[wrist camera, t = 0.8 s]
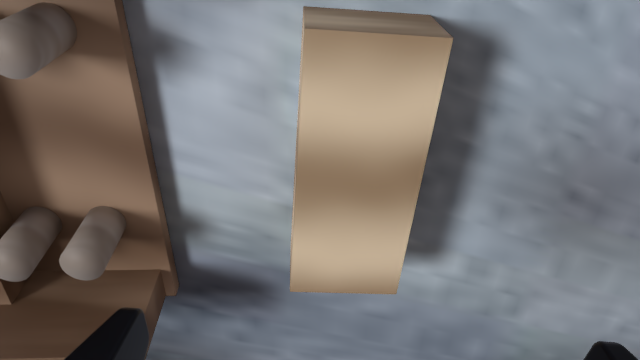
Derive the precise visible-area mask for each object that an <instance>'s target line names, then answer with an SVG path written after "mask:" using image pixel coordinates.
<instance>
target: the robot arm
mask: <svg viewBox="0 0 640 360" xmlns="http://www.w3.org/2000/svg"><path fill="white" fill-rule="evenodd" d="M148 344H149V331H148V327H147V323H146V319H145V316H144V312H143V310H141V309H140V308H128V307H123V308H120V309H118V310H117V311H116V312H115V313H114V314H113V315H112V316H111V317H109V318H108V319H107V320H106V321H105V322H104V323H103V324H102V325H101V326H100V327H99V328H98V329H96V330H95V331H94V332H93V333H92V334H91V335H90V336H89V337H88V338H87V339H86V340H84V341H83V342H82V343H81V344H80V345H79V346H78V347H77V348H76V349H75V350H74V351H73V352H71V353H70V354H69V355H68V356H67V357H66V358H65V359H64V360H145V356H146V352H147V348H148ZM584 360H638V359H637V358H636V357H635V356H634V355H633V354H631V353H630V352H629V351H628V350H627V349H626V348H625V347H624V346H622V345H621V344H619V343H615V342H603V341H598V342H596V343H595V344H594V345H593V346H592V348H591V349H590V351H589V352H588V354H587V355H586V357H585V358H584Z"/></svg>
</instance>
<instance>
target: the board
mask: <svg viewBox="0 0 640 360" xmlns="http://www.w3.org/2000/svg"><path fill="white" fill-rule="evenodd" d="M452 42H453V37H452V36H451V35H450V34H449V33H448V32H447V31H446V30H445V29H444V28H443V27H442V26H441V25H440V24H439V23H438V22H437V21H436V20H434V19H433V18H432V17H431V16H430V15H422V14H407V13H392V12H378V11H363V10H349V9H334V8H320V7H305V6H304V7H303V26H302V45H301V64H300V82H299V101H298V120H297V139H296V157H295V176H294V195H293V214H292V233H291V261H290V292H326V293H367V294H396V293H397V288H398V284H399V279H400V275H401V270H402V266H403V261H404V257H405V252H406V248H407V243H408V239H409V234H410V230H411V226H412V221H413V217H414V212H415V208H416V203H417V199H418V194H419V190H420V185H421V181H422V176H423V172H424V167H425V163H426V158H427V154H428V149H429V145H430V141H431V136H432V132H433V127H434V123H435V118H436V114H437V109H438V105H439V100H440V96H441V91H442V87H443V82H444V78H445V73H446V69H447V64H448V60H449V55H450V51H451V47H452Z"/></svg>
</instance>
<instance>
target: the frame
mask: <svg viewBox="0 0 640 360" xmlns="http://www.w3.org/2000/svg"><path fill="white" fill-rule="evenodd" d="M178 287H179V282H178V277H177V272H176V267H175V262H174V257H173V252H172V247H171V242H170V237H169V232H168V227H167V222H166V217H165V212H164V207H163V202H162V197H161V192H160V187H159V182H158V177H157V172H156V167H155V162H154V157H153V152H152V147H151V142H150V137H149V132H148V127H147V122H146V117H145V112H144V107H143V102H142V97H141V92H140V87H139V82H138V77H137V72H136V67H135V62H134V57H133V52H132V47H131V42H130V38H129V33H128V28H127V23H126V18H125V13H124V8H123V3H122V0H0V360H64V359H65V358H66V357H67V356H68V355H69V354H70V353H71V352H73V351H74V350H75V349H76V348H77V347H78V346H79V345H80V344H81V343H82V342H83V341H84V340H86V339H87V338H88V337H89V336H90V335H91V334H92V333H93V332H94V331H95V330H96V329H98V328H99V327H100V326H101V325H102V324H103V323H104V322H105V321H106V320H107V319H108V318H109V317H111V316H112V315H113V314H114V313H115V312H116V311H117V310H118V309H120V308H123V307H128V308H140V309H141V310H143V312H144V316H145V319H146V323H147V327H148V331H149V344H148V348H147V352H148V349H149V346H150V343H151V340H152V337H153V334H154V330H155V327H156V324H157V321H158V318H159V315H160V312H161V309H162V306H163V303H164V299H165V296H176V294H177V290H178ZM147 352H146V355H147ZM145 358H146V356H145Z"/></svg>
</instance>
